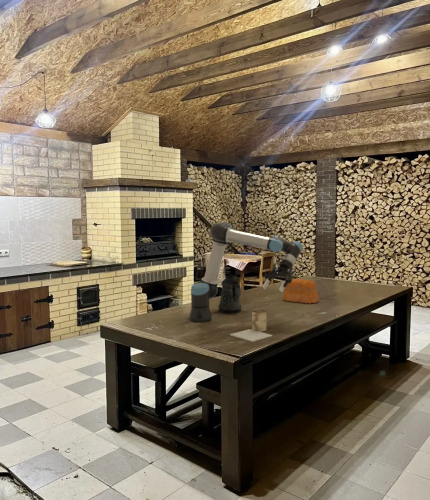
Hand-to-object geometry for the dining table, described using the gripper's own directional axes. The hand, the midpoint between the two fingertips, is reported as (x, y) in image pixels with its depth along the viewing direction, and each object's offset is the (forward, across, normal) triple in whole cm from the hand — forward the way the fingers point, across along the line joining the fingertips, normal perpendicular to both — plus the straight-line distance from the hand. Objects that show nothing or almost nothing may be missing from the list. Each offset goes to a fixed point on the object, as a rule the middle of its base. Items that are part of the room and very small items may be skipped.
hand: (271, 289), depth 266 cm
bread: (-36, +37, -70) cm, 87 cm away
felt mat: (+32, -4, 0) cm, 33 cm away
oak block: (+24, +1, -8) cm, 25 cm away
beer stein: (+8, +49, -24) cm, 55 cm away
